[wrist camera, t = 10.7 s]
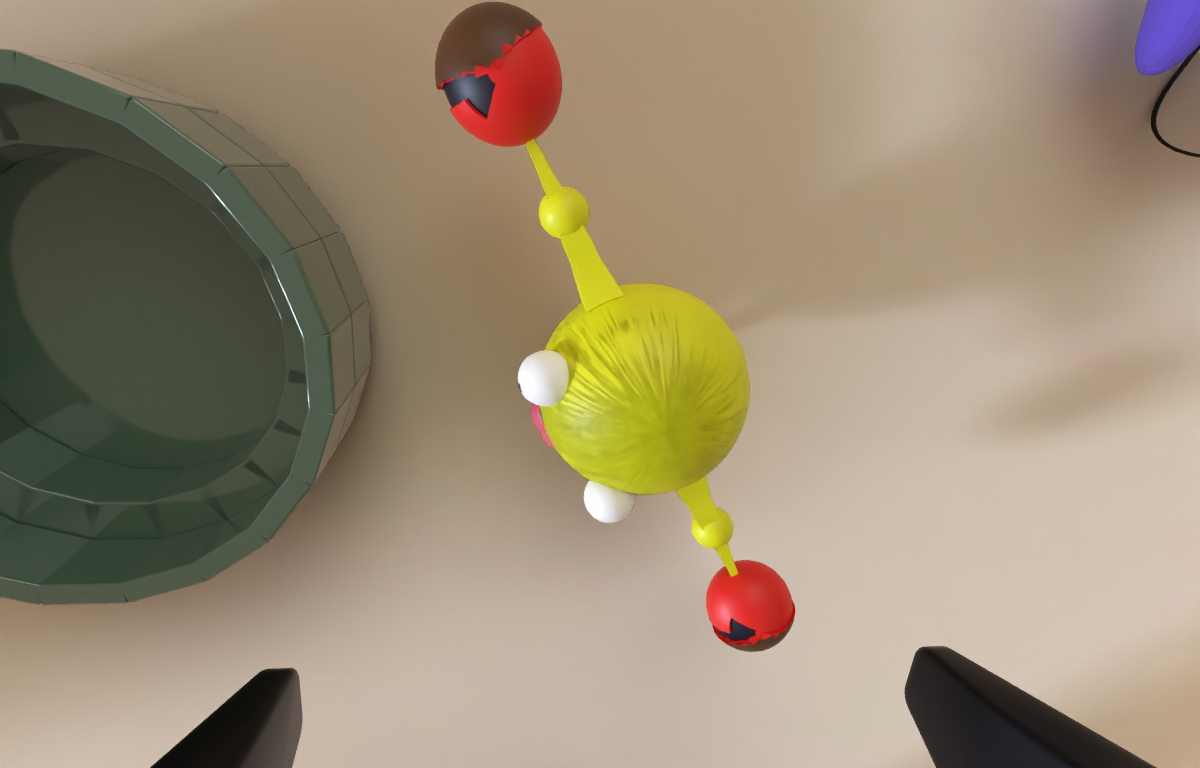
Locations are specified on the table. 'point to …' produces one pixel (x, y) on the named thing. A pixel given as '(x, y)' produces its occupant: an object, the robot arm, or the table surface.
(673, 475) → the toy figure
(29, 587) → the bowl
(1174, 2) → the game controller
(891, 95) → the table surface
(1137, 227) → the table surface
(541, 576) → the table surface
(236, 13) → the table surface
